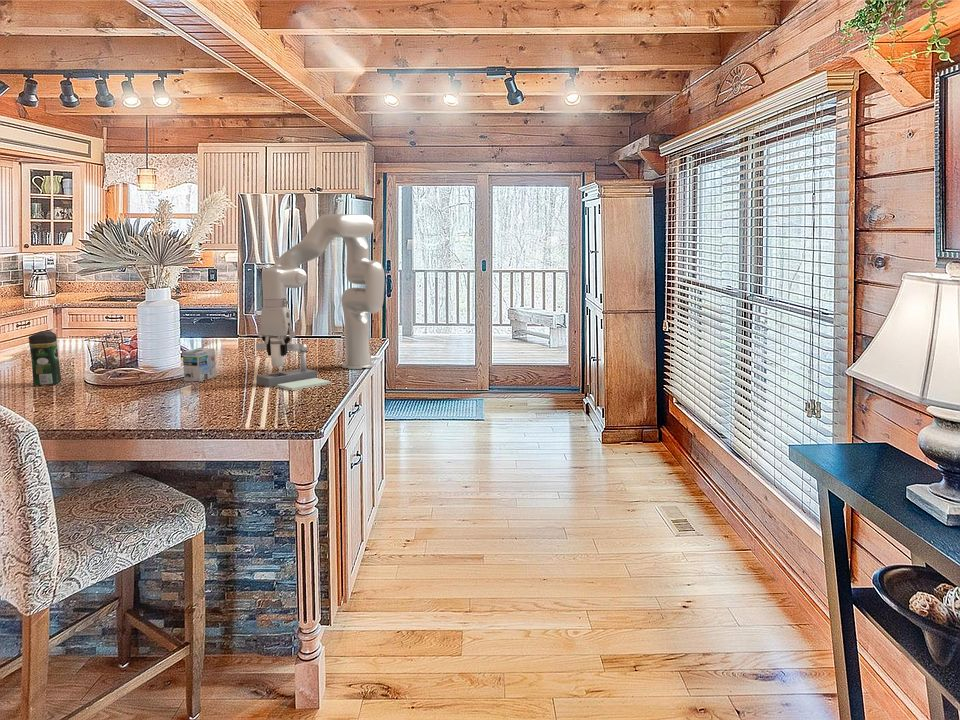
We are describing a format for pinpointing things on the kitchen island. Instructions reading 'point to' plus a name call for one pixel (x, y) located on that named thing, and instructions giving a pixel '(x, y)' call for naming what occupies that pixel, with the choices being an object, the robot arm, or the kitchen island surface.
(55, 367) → the coffee jar
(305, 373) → the gray base with post
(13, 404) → the kitchen island surface
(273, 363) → the plug
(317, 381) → the mat
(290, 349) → the silver metal bar
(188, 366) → the light bulb box
